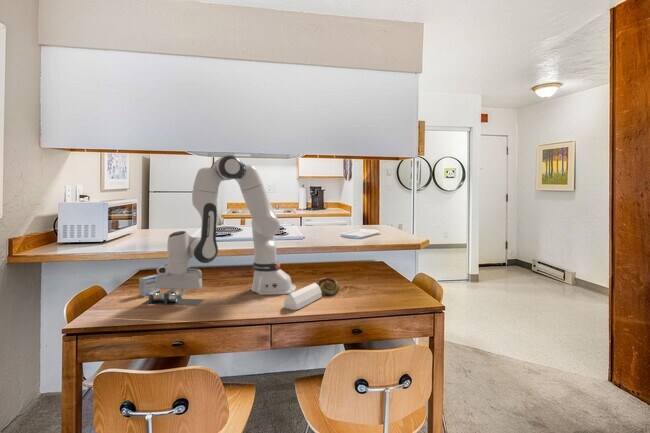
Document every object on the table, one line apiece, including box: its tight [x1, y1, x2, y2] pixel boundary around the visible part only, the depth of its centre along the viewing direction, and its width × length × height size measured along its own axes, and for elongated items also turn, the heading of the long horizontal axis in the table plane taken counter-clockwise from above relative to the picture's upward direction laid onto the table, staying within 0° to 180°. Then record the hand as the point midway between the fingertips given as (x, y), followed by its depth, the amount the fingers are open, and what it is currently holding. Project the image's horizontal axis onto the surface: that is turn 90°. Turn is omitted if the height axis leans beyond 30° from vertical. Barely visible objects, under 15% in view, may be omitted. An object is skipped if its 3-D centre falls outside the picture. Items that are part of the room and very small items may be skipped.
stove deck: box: [141, 288, 205, 307], centre depth 161 cm, size 25×9×5 cm, turn 86°
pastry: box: [315, 277, 340, 296], centre depth 179 cm, size 14×12×8 cm
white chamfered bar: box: [283, 282, 323, 311], centre depth 162 cm, size 7×7×24 cm
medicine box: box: [138, 274, 157, 297], centre depth 172 cm, size 8×4×9 cm, turn 148°
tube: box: [153, 292, 178, 302], centre depth 161 cm, size 11×3×3 cm, turn 86°
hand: (179, 298), depth 161 cm, fingers closed
